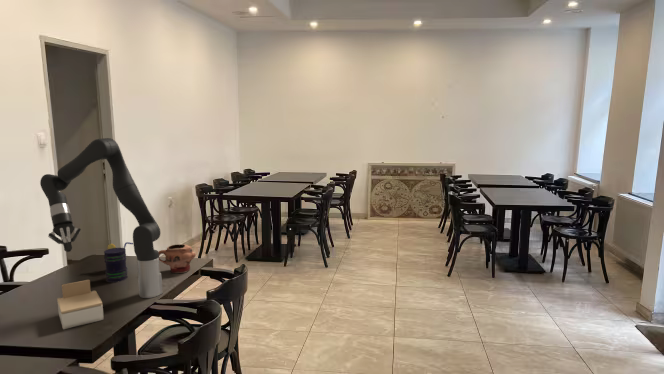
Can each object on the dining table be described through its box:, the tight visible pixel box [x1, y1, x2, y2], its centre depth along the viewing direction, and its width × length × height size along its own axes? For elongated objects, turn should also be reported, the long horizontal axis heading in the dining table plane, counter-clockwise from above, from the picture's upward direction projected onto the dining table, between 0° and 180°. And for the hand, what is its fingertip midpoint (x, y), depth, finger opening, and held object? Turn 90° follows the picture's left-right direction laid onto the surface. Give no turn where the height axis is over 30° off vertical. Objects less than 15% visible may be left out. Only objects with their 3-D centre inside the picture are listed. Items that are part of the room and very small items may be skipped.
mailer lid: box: [56, 279, 103, 314], centre depth 175 cm, size 14×16×6 cm
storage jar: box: [103, 247, 128, 283], centre depth 220 cm, size 10×10×15 cm
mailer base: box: [57, 303, 105, 330], centre depth 176 cm, size 14×16×6 cm
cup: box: [106, 241, 134, 252], centre depth 234 cm, size 14×8×15 cm, turn 95°
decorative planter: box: [158, 243, 197, 274], centre depth 231 cm, size 20×12×14 cm, turn 103°
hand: (68, 251), depth 191 cm, fingers closed
